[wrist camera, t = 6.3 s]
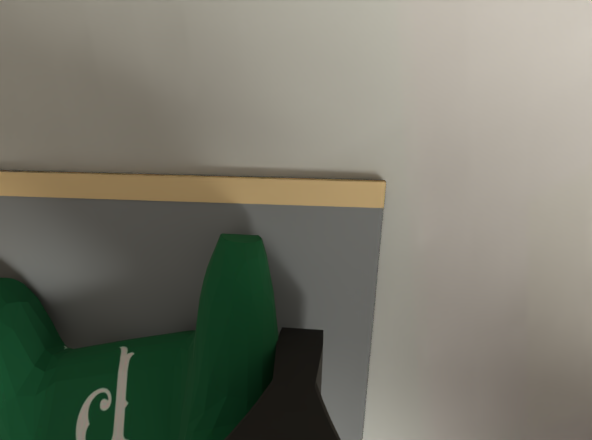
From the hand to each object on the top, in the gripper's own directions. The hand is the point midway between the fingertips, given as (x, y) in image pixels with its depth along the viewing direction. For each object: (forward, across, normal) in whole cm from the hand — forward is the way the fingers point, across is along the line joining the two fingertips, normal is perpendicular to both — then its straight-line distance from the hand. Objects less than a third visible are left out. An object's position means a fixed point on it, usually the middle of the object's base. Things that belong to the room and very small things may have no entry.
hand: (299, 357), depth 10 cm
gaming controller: (+1, +5, 0) cm, 5 cm away
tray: (+1, +4, +1) cm, 4 cm away
